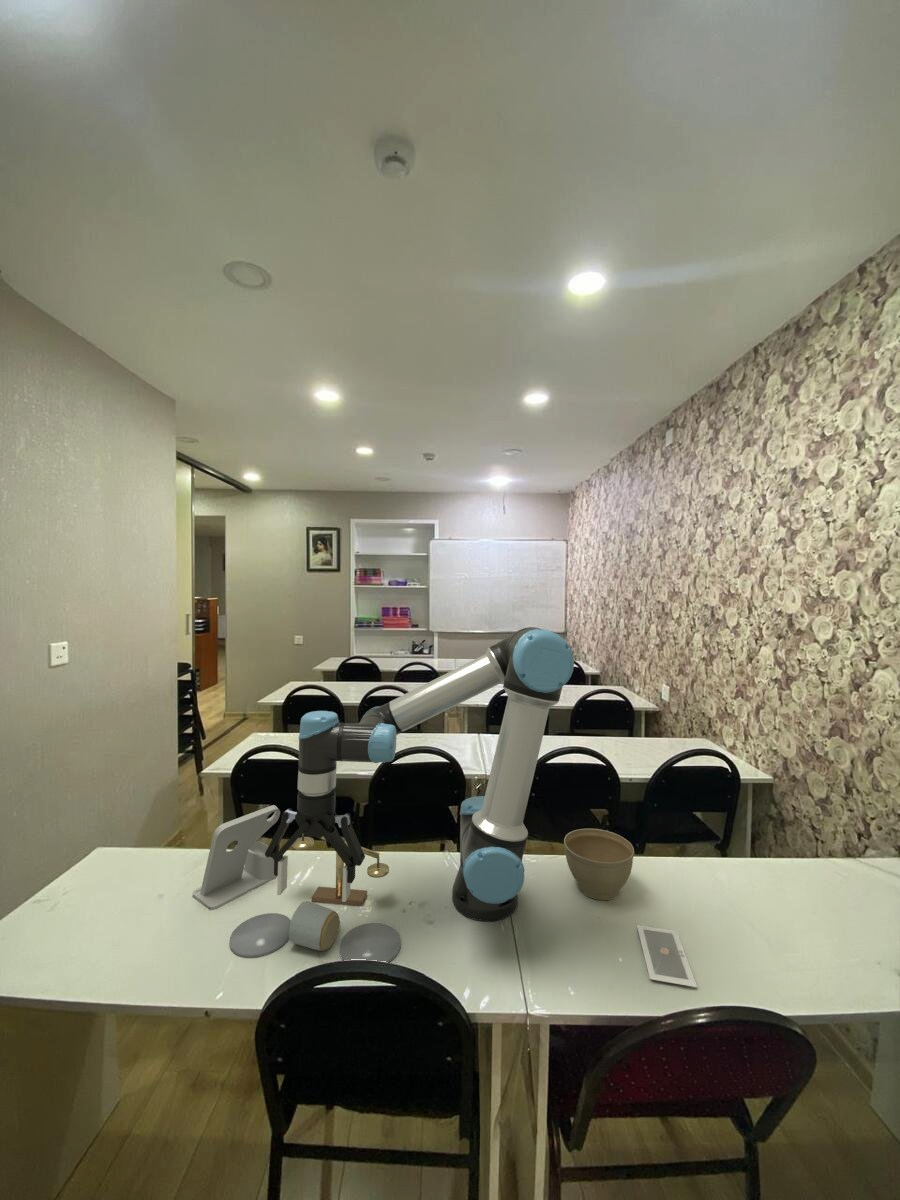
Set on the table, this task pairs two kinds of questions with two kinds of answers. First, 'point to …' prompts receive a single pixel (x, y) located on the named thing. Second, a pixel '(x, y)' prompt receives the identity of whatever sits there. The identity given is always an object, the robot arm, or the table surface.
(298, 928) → the ceramic mug
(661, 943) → the touchpad
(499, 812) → the robot arm
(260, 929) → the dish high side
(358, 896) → the balance
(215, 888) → the phone holder
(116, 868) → the table surface
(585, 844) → the planter bowl
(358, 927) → the dish low side
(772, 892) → the table surface
